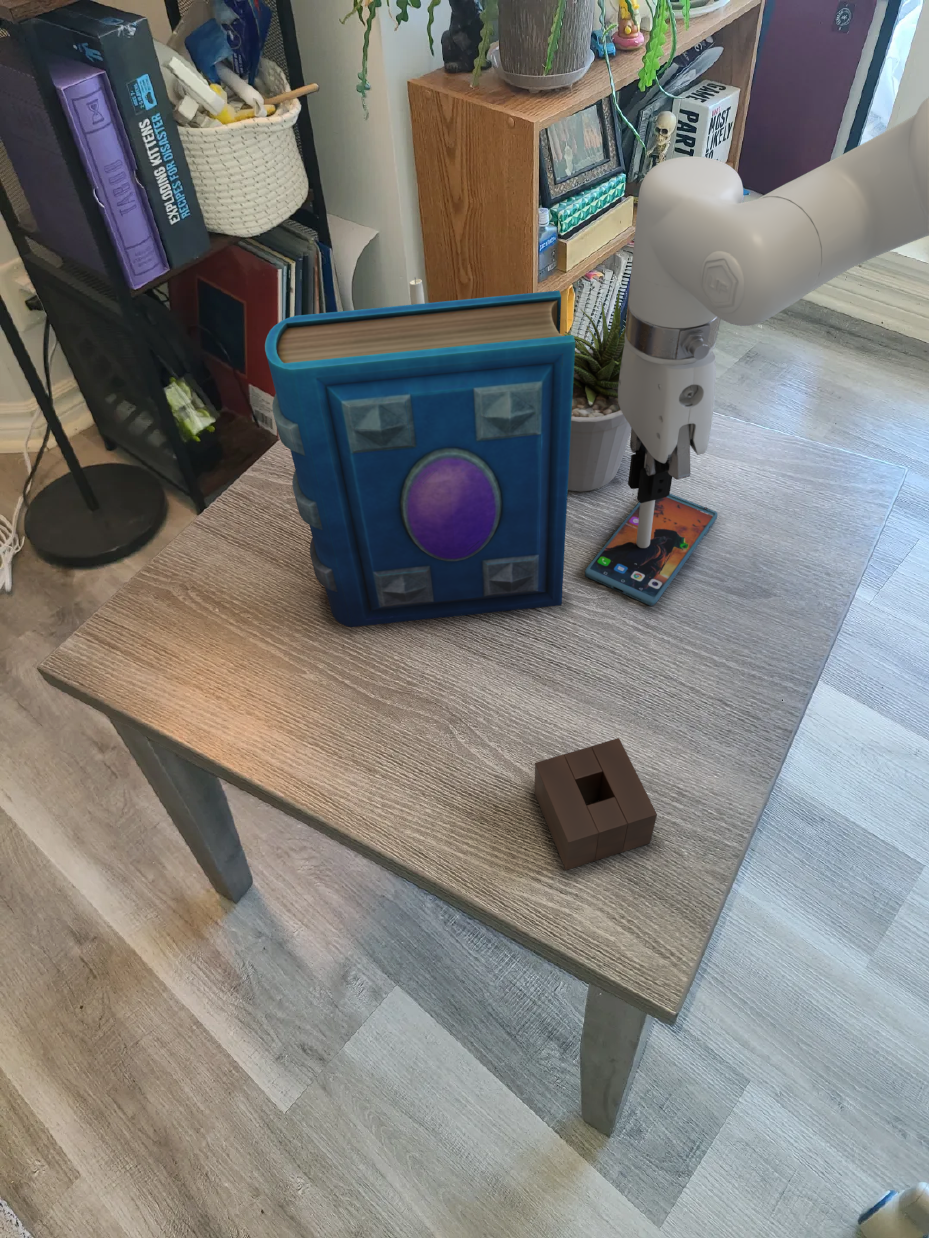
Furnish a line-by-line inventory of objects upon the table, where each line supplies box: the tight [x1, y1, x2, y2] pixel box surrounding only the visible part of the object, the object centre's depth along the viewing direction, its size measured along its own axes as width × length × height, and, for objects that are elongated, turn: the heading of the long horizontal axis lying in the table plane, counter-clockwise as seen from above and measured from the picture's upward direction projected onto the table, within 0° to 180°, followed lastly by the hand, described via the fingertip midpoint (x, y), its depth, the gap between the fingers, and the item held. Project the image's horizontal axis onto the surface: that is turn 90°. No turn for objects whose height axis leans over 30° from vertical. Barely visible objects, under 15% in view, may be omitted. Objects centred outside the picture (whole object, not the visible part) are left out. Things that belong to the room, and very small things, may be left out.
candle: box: [409, 276, 426, 305], centre depth 108 cm, size 5×5×16 cm
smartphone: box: [584, 493, 718, 607], centre depth 94 cm, size 8×1×15 cm
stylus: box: [636, 449, 655, 548], centre depth 89 cm, size 1×1×13 cm
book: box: [264, 289, 576, 628], centre depth 80 cm, size 24×9×30 cm, turn 95°
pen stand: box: [533, 737, 658, 871], centre depth 73 cm, size 7×7×5 cm
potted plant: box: [563, 291, 631, 492], centre depth 95 cm, size 13×14×20 cm
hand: (648, 490), depth 88 cm, fingers closed on stylus, 1 cm apart
